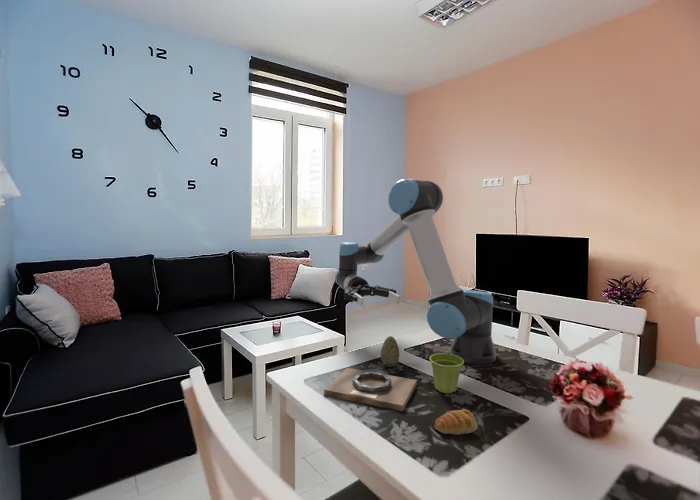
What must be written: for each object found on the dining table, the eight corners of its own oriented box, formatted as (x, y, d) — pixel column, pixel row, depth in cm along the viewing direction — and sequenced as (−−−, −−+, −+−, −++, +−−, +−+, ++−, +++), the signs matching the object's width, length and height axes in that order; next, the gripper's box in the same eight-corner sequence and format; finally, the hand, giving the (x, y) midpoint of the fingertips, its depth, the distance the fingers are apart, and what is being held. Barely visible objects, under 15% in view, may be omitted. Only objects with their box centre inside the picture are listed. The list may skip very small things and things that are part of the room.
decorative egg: (377, 367, 124) (377, 337, 123) (386, 361, 129) (386, 332, 128) (393, 371, 121) (394, 340, 120) (402, 365, 126) (403, 335, 125)
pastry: (444, 440, 85) (444, 423, 85) (428, 424, 92) (428, 409, 91) (479, 432, 88) (480, 416, 88) (461, 418, 95) (462, 403, 94)
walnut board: (416, 385, 112) (416, 379, 112) (402, 411, 97) (403, 404, 97) (346, 372, 120) (346, 367, 120) (324, 394, 105) (324, 388, 105)
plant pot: (464, 398, 104) (465, 367, 103) (428, 394, 106) (429, 364, 105) (461, 383, 113) (462, 354, 112) (428, 380, 115) (429, 352, 114)
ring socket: (394, 380, 111) (394, 375, 111) (383, 395, 102) (383, 390, 102) (361, 374, 115) (361, 369, 115) (348, 388, 106) (348, 383, 105)
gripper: (384, 293, 155) (411, 309, 136) (325, 297, 146) (345, 314, 126) (385, 275, 154) (413, 288, 135) (326, 277, 145) (346, 291, 125)
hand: (380, 301), depth 131 cm, fingers open, 13 cm apart
